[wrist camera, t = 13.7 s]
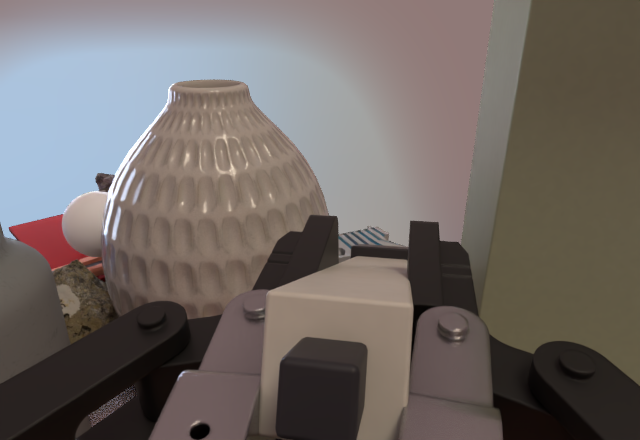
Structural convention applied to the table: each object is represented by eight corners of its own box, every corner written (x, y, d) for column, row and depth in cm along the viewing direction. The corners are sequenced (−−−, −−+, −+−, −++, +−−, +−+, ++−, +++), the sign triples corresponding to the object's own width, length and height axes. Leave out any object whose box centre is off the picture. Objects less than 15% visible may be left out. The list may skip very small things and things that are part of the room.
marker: (424, 518, 5) (438, 281, 5) (203, 480, 5) (219, 265, 5) (408, 299, 22) (411, 247, 22) (357, 294, 22) (360, 244, 22)
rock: (129, 414, 35) (16, 351, 29) (100, 356, 42) (3, 294, 36) (183, 357, 37) (86, 285, 31) (147, 309, 43) (61, 242, 37)
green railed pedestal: (755, 694, 20) (1580, -472, 7) (419, 619, 22) (566, -348, 9) (624, 432, 32) (829, -153, 20) (419, 402, 35) (481, -136, 22)
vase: (95, 359, 39) (32, 81, 30) (253, 288, 49) (240, 67, 41) (194, 489, 28) (141, 117, 19) (371, 364, 38) (388, 85, 30)
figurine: (104, 203, 35) (167, 158, 46) (36, 207, 35) (115, 162, 46) (132, 296, 38) (185, 233, 49) (69, 298, 39) (135, 235, 50)
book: (202, 288, 49) (198, 245, 47) (75, 340, 41) (63, 291, 39) (129, 235, 61) (123, 199, 59) (19, 267, 53) (8, 227, 51)
